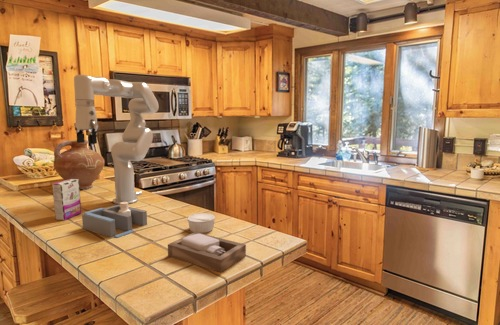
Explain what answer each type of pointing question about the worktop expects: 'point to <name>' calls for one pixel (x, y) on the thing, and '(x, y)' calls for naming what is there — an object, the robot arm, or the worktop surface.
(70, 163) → the jug
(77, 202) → the candy bar box
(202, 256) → the dispenser tray
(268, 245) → the worktop surface
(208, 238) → the charger
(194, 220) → the ramekin
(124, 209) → the pepper shaker
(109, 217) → the shelf rack
